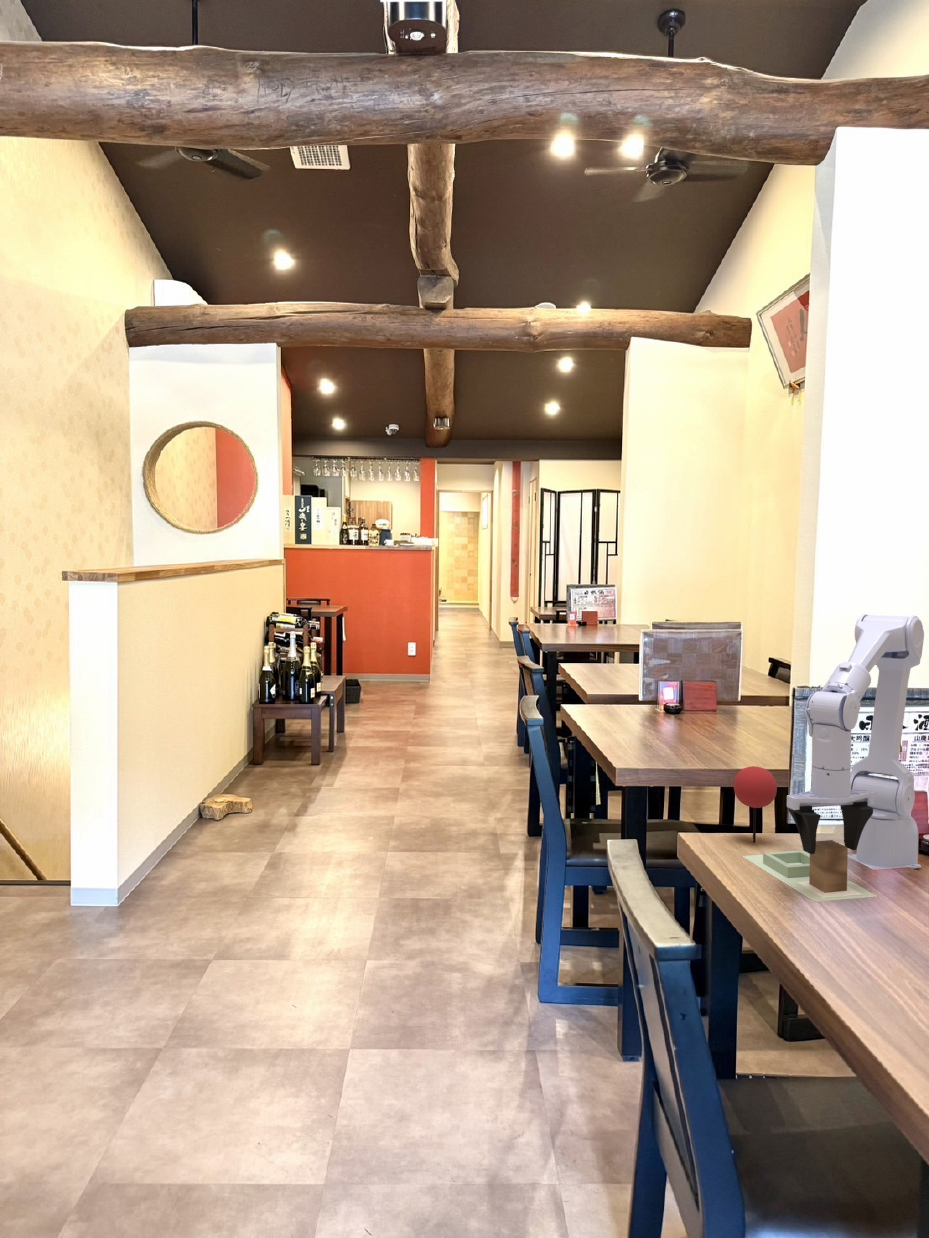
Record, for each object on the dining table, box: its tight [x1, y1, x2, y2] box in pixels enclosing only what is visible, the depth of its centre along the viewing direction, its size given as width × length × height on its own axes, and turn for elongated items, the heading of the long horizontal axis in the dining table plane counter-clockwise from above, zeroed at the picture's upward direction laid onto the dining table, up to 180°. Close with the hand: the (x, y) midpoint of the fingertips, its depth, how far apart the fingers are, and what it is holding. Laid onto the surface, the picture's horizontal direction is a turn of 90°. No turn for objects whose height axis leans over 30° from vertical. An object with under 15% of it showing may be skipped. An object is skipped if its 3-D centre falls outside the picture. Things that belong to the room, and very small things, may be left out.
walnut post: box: [809, 839, 849, 893], centre depth 136 cm, size 4×4×7 cm
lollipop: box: [733, 765, 778, 844], centre depth 159 cm, size 8×8×15 cm
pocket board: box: [741, 849, 879, 903], centre depth 142 cm, size 11×22×2 cm, turn 11°
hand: (829, 850), depth 135 cm, fingers open, 7 cm apart
